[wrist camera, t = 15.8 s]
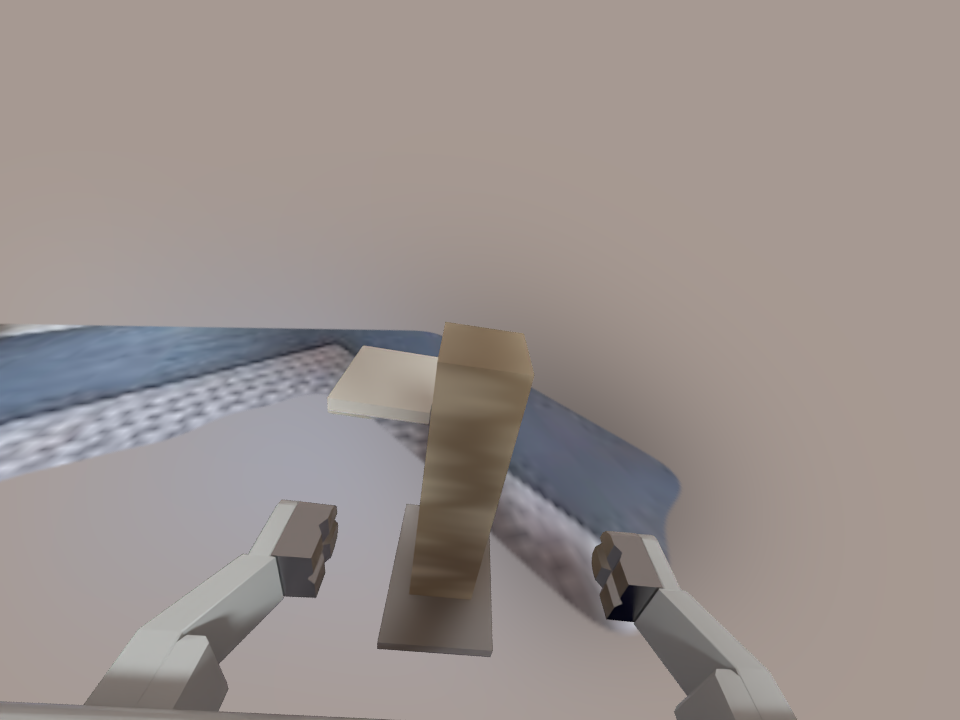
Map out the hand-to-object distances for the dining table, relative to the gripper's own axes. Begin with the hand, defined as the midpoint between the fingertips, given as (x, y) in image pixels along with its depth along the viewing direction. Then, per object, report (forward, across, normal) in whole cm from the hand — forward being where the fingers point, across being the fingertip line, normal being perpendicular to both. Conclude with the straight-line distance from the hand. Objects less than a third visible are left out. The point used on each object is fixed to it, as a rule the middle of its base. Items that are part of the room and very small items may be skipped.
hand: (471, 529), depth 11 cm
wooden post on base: (+4, 0, +9) cm, 10 cm away
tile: (+16, +6, +9) cm, 19 cm away
